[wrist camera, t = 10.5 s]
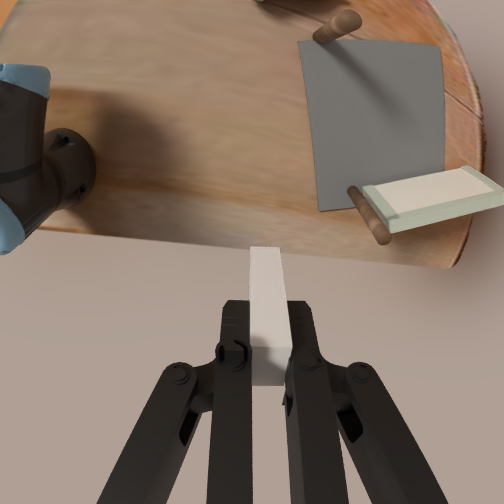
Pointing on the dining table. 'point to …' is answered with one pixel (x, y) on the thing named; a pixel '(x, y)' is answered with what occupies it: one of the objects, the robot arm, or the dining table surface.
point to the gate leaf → (432, 198)
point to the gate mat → (372, 114)
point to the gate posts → (329, 32)
